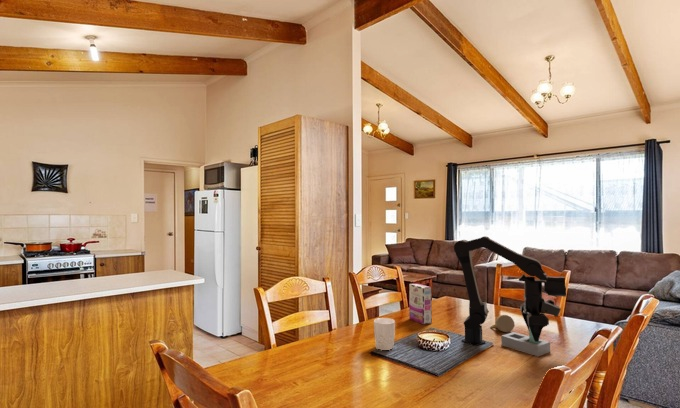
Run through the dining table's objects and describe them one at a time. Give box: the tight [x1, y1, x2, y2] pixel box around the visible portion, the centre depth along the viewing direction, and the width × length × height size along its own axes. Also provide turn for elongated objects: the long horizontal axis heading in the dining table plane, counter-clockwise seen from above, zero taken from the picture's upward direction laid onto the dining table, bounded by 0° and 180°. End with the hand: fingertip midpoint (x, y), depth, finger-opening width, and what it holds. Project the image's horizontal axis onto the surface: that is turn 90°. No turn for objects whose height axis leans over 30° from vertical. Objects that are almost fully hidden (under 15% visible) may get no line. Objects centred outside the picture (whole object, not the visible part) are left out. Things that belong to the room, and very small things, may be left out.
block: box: [501, 331, 551, 357], centre depth 142 cm, size 8×14×4 cm, turn 34°
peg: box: [528, 328, 539, 344], centre depth 139 cm, size 3×3×10 cm
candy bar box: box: [408, 283, 433, 325], centre depth 178 cm, size 11×5×16 cm, turn 25°
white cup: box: [373, 317, 396, 351], centre depth 144 cm, size 8×8×10 cm
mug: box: [489, 314, 515, 333], centre depth 164 cm, size 8×10×10 cm
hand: (533, 337), depth 139 cm, fingers open, 9 cm apart
